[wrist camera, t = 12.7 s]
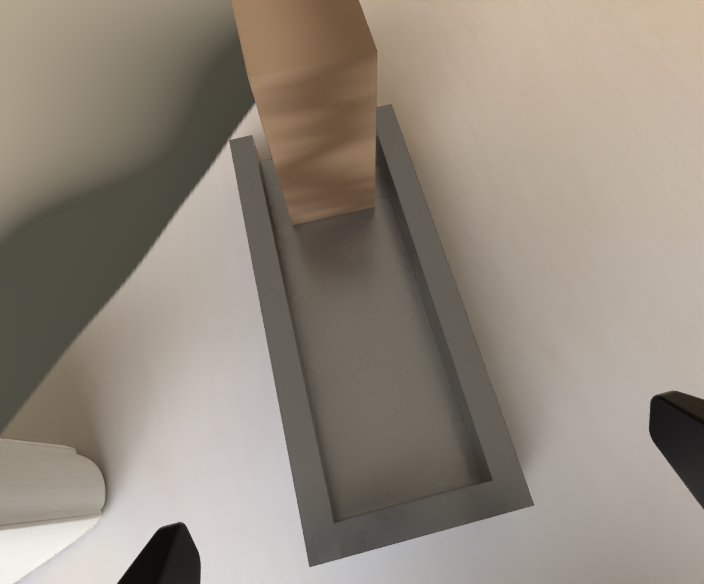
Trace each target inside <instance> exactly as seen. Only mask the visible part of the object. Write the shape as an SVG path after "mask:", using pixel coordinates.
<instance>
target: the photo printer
mask: <svg viewBox="0 0 704 584" xmlns="http://www.w3.org/2000/svg"><path fill="white" fill-rule="evenodd" d="M104 503H105V483H104V479H103V476H102V473H101V471H100V469H99V468H98V467H97V465H96V464H95V463H94V462H93V461H91V460H90V459H89V458H87V457H85V456H81V455H78V454H77V452H76V449H75V448H73V447H70V446H65V445H59V444H49V443H39V442H29V441H21V440H13V439H3V438H0V584H14V583H15V582H17V581H18V580H20V579H21V578H23V577H24V576H26V575H27V574H29V573H30V572H32V571H33V570H35V569H36V568H37V567H39V566H40V565H42V564H43V563H45V562H46V561H47V560H49V559H50V558H52V557H53V556H55V555H56V554H57V553H59V552H60V551H62V550H63V549H65V548H66V547H67V546H69V545H70V544H71V543H73V542H74V541H75V540H77V539H78V538H80V537H81V536H82V535H83V534H85V533H86V532H87V531H88V530H89V529H91V528H92V527H93V526H94V525H95V524H96V523H97V522H98V521H99V520H100V519H101V518H102V517H103V513H102V512H101V509H102V508H103V506H104Z"/></svg>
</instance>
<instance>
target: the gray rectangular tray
mask: <svg viewBox="0 0 704 584" xmlns="http://www.w3.org/2000/svg"><path fill="white" fill-rule="evenodd" d="M229 142H230V147H231V152H232V158H233V163H234V168H235V173H236V179H237V184H238V189H239V195H240V200H241V205H242V211H243V216H244V221H245V227H246V232H247V237H248V243H249V248H250V253H251V258H252V264H253V269H254V274H255V280H256V285H257V290H258V296H259V301H260V306H261V312H262V317H263V322H264V328H265V333H266V338H267V344H268V349H269V354H270V359H271V365H272V370H273V375H274V381H275V386H276V391H277V397H278V402H279V407H280V413H281V418H282V423H283V429H284V434H285V439H286V444H287V450H288V455H289V460H290V466H291V471H292V476H293V482H294V487H295V492H296V498H297V503H298V508H299V514H300V519H301V524H302V529H303V535H304V540H305V545H306V551H307V556H308V561H309V567H312V566H315V565H319V564H323V563H326V562H330V561H334V560H337V559H341V558H344V557H348V556H352V555H355V554H359V553H363V552H366V551H370V550H374V549H377V548H381V547H384V546H388V545H392V544H395V543H399V542H403V541H406V540H410V539H414V538H417V537H421V536H424V535H428V534H432V533H435V532H439V531H443V530H446V529H450V528H454V527H457V526H461V525H464V524H468V523H472V522H475V521H479V520H483V519H486V518H490V517H494V516H497V515H501V514H504V513H508V512H512V511H515V510H519V509H523V508H526V507H530V506H534V503H533V500H532V497H531V495H530V492H529V489H528V486H527V483H526V481H525V478H524V475H523V472H522V469H521V467H520V464H519V461H518V458H517V455H516V453H515V450H514V447H513V444H512V441H511V439H510V436H509V433H508V430H507V427H506V425H505V422H504V419H503V416H502V413H501V411H500V408H499V405H498V402H497V399H496V397H495V394H494V391H493V388H492V385H491V383H490V380H489V377H488V374H487V371H486V368H485V366H484V363H483V360H482V357H481V354H480V352H479V349H478V346H477V343H476V340H475V338H474V335H473V332H472V329H471V326H470V324H469V321H468V318H467V315H466V312H465V310H464V307H463V304H462V301H461V298H460V296H459V293H458V290H457V287H456V284H455V282H454V279H453V276H452V273H451V270H450V268H449V265H448V262H447V259H446V256H445V254H444V251H443V248H442V245H441V242H440V239H439V237H438V234H437V231H436V228H435V225H434V223H433V220H432V217H431V214H430V211H429V209H428V206H427V203H426V200H425V197H424V195H423V192H422V189H421V186H420V183H419V181H418V178H417V175H416V172H415V169H414V167H413V164H412V161H411V158H410V155H409V153H408V150H407V147H406V144H405V141H404V139H403V136H402V133H401V130H400V127H399V125H398V122H397V119H396V116H395V113H394V110H393V108H392V105H386V106H382V107H377V108H376V158H375V206H374V207H370V208H366V209H361V210H357V211H353V212H349V213H344V214H340V215H336V216H331V217H327V218H323V219H319V220H314V221H310V222H306V223H301V224H297V225H293V226H292V222H291V219H290V216H289V212H288V209H287V206H286V202H285V199H284V196H283V192H282V189H281V186H280V182H279V179H278V176H277V172H276V169H275V166H274V162H273V159H270V160H265V161H261V160H260V158H259V155H258V152H257V149H256V146H255V143H254V140H253V137H252V135H251V136H246V137H242V138H237V139H233V140H229Z"/></svg>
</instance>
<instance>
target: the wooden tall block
mask: <svg viewBox="0 0 704 584" xmlns="http://www.w3.org/2000/svg"><path fill="white" fill-rule="evenodd" d="M231 1H232V5H233V11H234V15H235V19H236V24H237V29H238V33H239V38H240V42H241V47H242V51H243V56H244V61H245V65H246V70H247V75H248V79H249V82H250V86H251V89H252V92H253V95H254V99H255V102H256V106H257V109H258V112H259V116H260V119H261V122H262V126H263V129H264V132H265V136H266V139H267V142H268V146H269V149H270V152H271V156H272V159H273V162H274V166H275V169H276V172H277V176H278V179H279V182H280V186H281V189H282V192H283V196H284V199H285V202H286V206H287V209H288V212H289V216H290V219H291V222H292V226H293V225H297V224H301V223H306V222H310V221H314V220H319V219H323V218H327V217H331V216H336V215H340V214H344V213H349V212H353V211H357V210H361V209H366V208H370V207H374V206H375V158H376V89H377V50H376V47H375V44H374V41H373V38H372V36H371V33H370V30H369V27H368V25H367V22H366V19H365V16H364V13H363V11H362V8H361V5H360V2H359V0H231Z"/></svg>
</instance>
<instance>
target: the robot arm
mask: <svg viewBox="0 0 704 584" xmlns="http://www.w3.org/2000/svg"><path fill="white" fill-rule="evenodd" d="M649 432H650V436H651V438H652V440H653V442H654V443H655V445H656V446H657V447H658V449H659V450H660V451H661V453H662V454H663V455H664V457H665V458H666V460H667V461H668V462H669V464H670V465H671V466H672V468H673V469H674V470H675V472H676V473H677V474H678V476H679V477H680V478H681V480H682V481H683V482H684V484H685V485H686V486H687V488H688V489H689V491H690V492H691V493H692V495H693V496H694V497H695V499H696V500H697V501H698V503H699V504H700V505H701V506H702V508H703V509H704V399H700V398H697V397H694V396H691V395H688V394H685V393H682V392H678V391H669V392H665V393H661V394H657V395H655V396H653V398H652V399H651V403H650V420H649ZM200 575H201V563H200V556H199V552H198V550H197V548H196V546H195V544H194V541H193V539H192V537H191V535H190V533H189V531H188V529H187V527H186V525H185V524H184V523H182V522H178V523H174V524H170V525H166V526H163V527H161V528H159V529H158V530H157V531H156V533H155V534H154V535H153V537H152V538H151V539H150V541H149V542H148V543H147V545H146V546H145V547H144V549H143V550H142V551H141V553H140V554H139V555H138V557H137V558H136V559H135V560H134V562H133V563H132V564H131V566H130V567H129V568H128V570H127V571H126V572H125V574H124V575H123V576H122V578H121V579H120V580H119V582H118V583H117V584H200Z"/></svg>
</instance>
